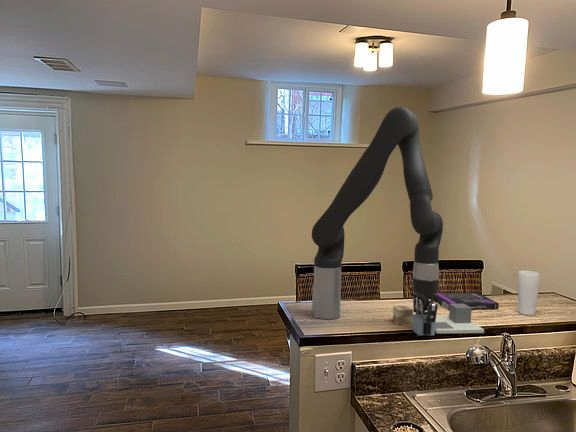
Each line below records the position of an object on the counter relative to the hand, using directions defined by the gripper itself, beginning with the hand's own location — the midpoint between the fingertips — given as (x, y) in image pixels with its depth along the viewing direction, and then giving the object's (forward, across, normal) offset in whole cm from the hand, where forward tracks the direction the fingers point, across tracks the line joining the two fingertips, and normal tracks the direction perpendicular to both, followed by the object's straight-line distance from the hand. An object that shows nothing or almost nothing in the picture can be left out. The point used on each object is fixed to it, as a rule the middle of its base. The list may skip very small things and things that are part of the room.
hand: (423, 331), depth 137 cm
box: (+1, -30, +28) cm, 41 cm away
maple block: (+1, -10, -3) cm, 10 cm away
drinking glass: (+1, -18, +45) cm, 48 cm away
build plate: (0, -6, +11) cm, 13 cm away
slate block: (0, 0, 0) cm, 0 cm away
